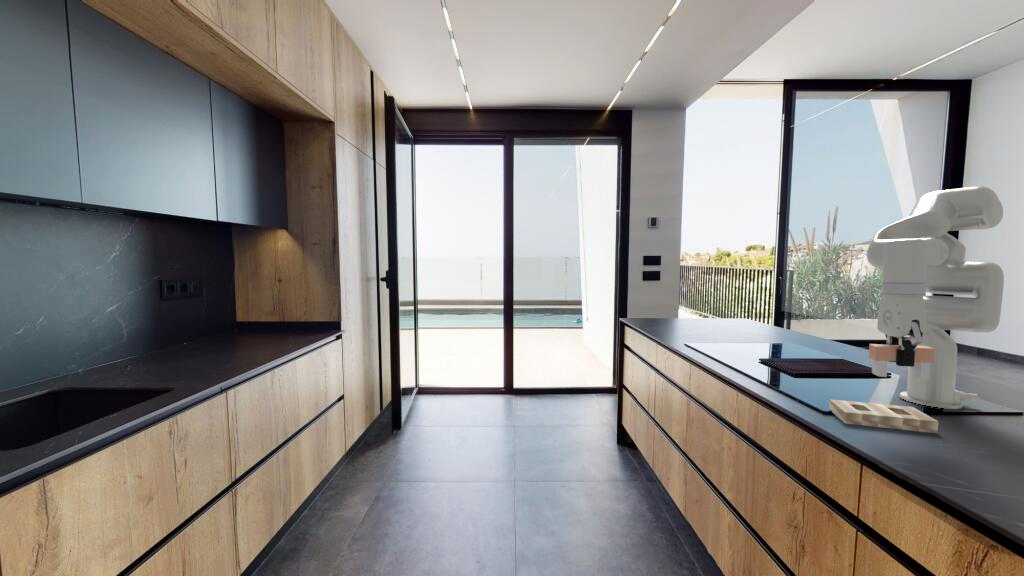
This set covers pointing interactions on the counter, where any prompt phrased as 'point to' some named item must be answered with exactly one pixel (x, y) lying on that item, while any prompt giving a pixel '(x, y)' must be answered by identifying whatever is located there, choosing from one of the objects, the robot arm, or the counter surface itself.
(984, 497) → the counter surface
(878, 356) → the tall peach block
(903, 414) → the beige flat slotted block
